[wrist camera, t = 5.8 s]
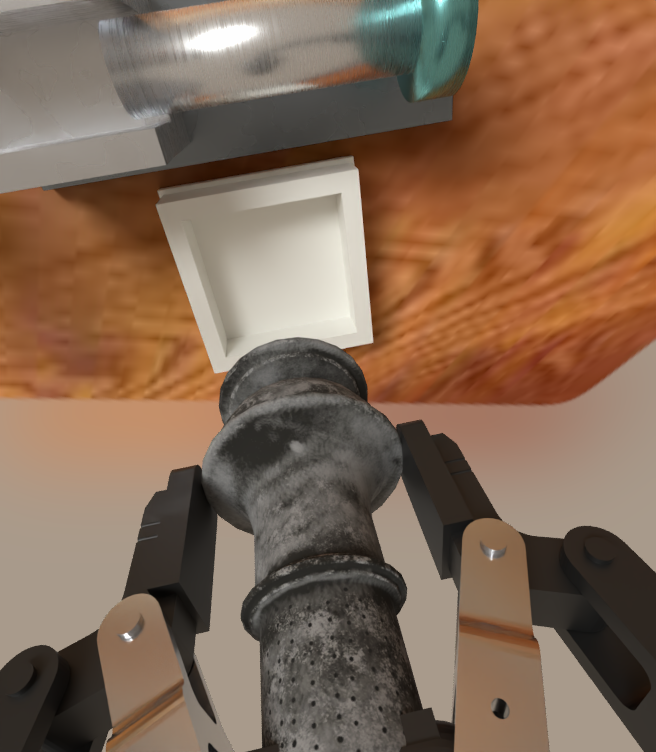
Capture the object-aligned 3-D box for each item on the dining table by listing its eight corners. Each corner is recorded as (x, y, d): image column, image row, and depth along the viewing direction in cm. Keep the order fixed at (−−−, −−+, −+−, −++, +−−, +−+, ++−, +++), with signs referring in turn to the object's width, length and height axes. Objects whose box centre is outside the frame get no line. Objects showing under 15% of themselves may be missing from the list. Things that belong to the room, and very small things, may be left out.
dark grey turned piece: (342, 470, 18) (462, 952, 8) (195, 450, 16) (111, 1044, 6) (401, 350, 15) (705, 874, 5) (230, 309, 13) (178, 1008, 3)
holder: (351, 155, 24) (362, 162, 22) (367, 324, 31) (377, 345, 28) (159, 188, 24) (148, 200, 21) (215, 353, 30) (211, 377, 28)
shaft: (427, -55, 17) (484, -99, 13) (427, 95, 20) (473, 98, 16) (109, -5, 16) (61, -35, 12) (156, 141, 19) (130, 156, 15)
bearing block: (449, -84, 19) (559, -179, 12) (445, 119, 24) (523, 131, 17) (-43, -10, 19) (-220, -67, 12) (51, 187, 23) (-36, 230, 16)
